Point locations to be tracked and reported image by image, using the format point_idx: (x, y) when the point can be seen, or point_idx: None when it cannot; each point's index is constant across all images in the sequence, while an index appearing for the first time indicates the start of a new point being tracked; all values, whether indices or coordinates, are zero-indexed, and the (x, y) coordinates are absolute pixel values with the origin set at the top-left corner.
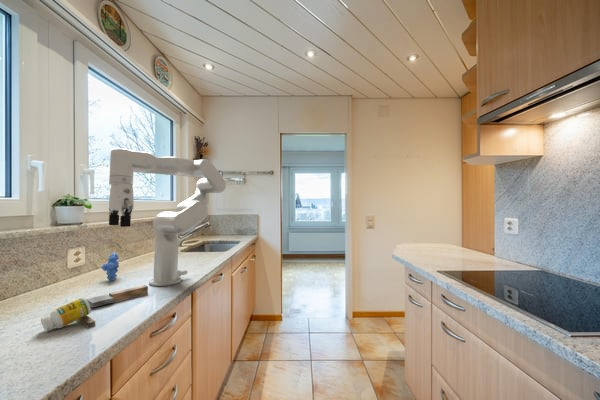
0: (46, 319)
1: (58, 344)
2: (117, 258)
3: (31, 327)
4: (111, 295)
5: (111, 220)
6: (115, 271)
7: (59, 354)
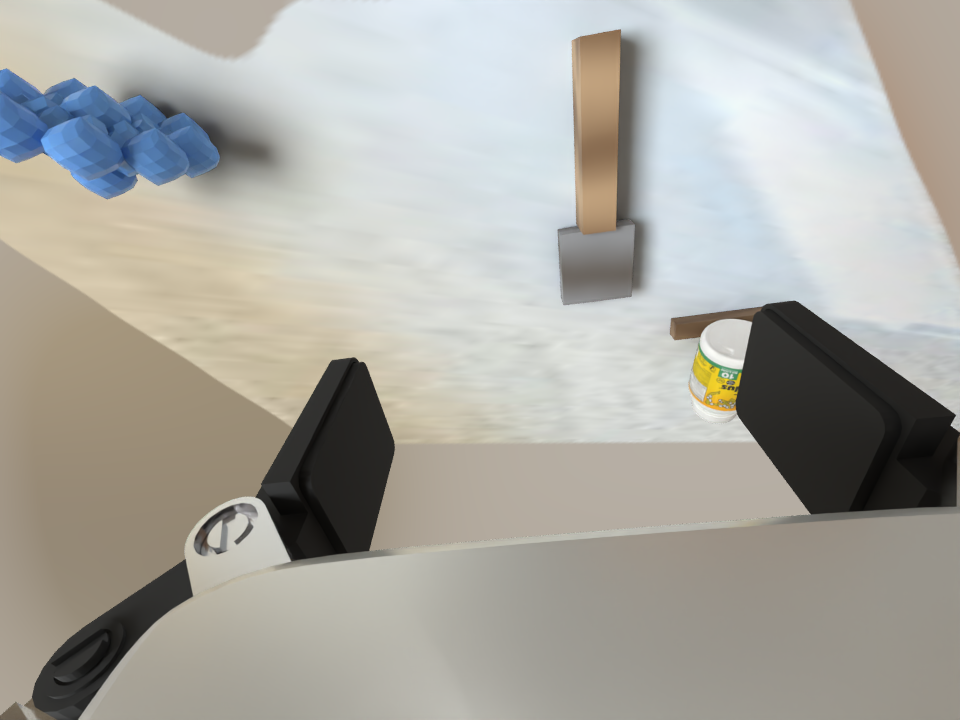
0: (734, 415)
1: None
2: None
3: (639, 409)
4: (610, 229)
5: (374, 485)
6: (124, 108)
7: None
